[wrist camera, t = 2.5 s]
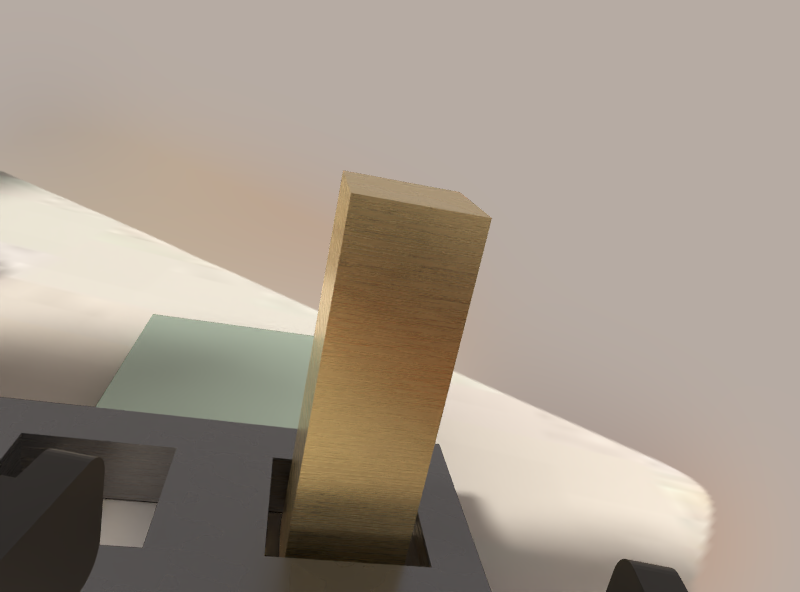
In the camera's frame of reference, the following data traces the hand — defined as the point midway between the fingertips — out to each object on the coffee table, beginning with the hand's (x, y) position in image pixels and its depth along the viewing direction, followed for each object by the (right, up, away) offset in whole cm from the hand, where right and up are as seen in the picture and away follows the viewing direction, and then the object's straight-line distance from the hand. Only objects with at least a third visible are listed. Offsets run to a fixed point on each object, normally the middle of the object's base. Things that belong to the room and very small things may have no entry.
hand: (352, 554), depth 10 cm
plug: (-2, -6, +14) cm, 15 cm away
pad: (-8, -1, +25) cm, 26 cm away
